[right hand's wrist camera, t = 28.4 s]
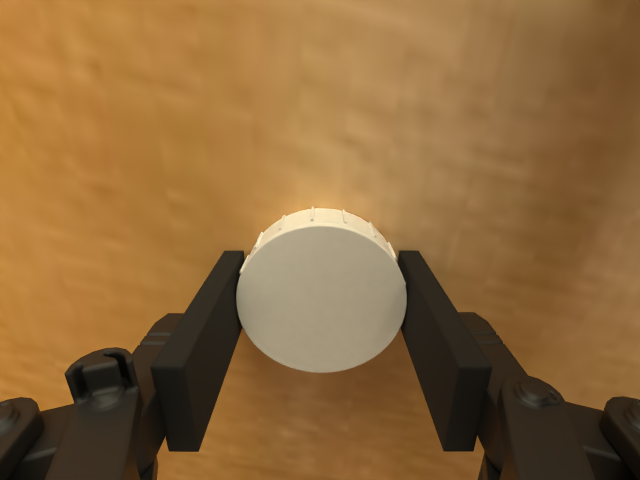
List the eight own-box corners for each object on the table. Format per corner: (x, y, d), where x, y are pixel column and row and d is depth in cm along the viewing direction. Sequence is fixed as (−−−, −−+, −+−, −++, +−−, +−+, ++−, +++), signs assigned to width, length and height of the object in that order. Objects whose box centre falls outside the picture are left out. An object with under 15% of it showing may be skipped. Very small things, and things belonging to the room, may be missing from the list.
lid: (303, 172, 13) (300, 185, 11) (430, 264, 14) (446, 290, 12) (217, 292, 15) (202, 320, 13) (336, 363, 16) (338, 398, 14)
